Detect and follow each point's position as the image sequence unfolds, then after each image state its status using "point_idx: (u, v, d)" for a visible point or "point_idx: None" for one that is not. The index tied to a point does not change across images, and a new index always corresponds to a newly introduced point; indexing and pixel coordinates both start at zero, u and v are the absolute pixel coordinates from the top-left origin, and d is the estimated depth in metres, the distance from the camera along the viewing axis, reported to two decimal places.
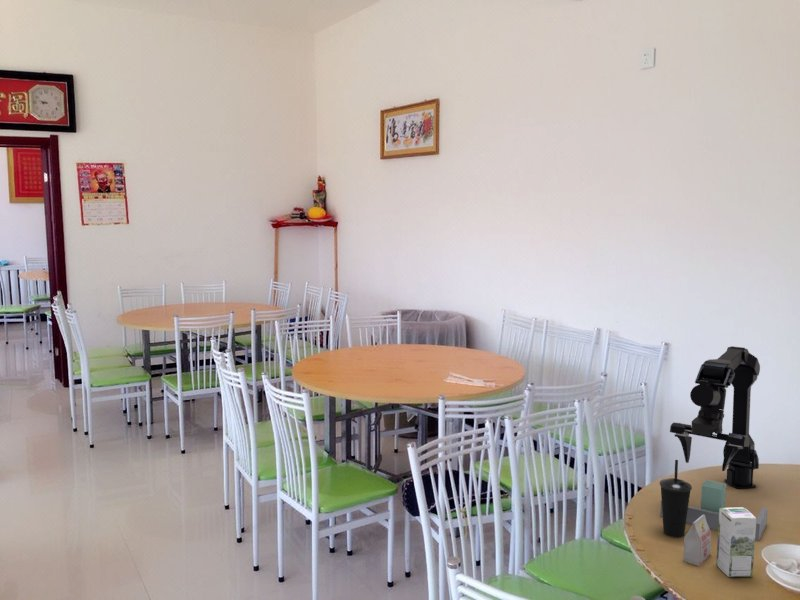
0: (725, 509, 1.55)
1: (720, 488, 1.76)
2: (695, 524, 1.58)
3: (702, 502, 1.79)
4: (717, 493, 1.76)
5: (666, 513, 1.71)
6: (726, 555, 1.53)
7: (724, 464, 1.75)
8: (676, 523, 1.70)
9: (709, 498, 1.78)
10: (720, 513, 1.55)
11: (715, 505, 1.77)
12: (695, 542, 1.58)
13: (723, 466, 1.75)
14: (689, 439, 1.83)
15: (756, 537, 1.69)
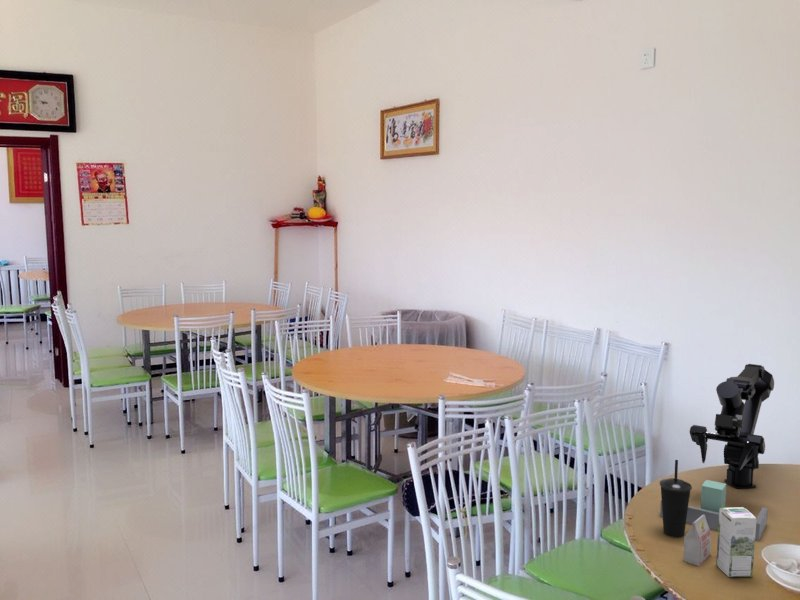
0: (725, 509, 1.55)
1: (720, 488, 1.76)
2: (695, 524, 1.58)
3: (702, 502, 1.79)
4: (717, 493, 1.76)
5: (666, 513, 1.71)
6: (726, 555, 1.53)
7: (741, 462, 1.82)
8: (676, 523, 1.70)
9: (709, 498, 1.78)
10: (720, 513, 1.55)
11: (715, 505, 1.77)
12: (695, 542, 1.58)
13: (740, 464, 1.82)
14: (706, 444, 1.91)
15: (756, 537, 1.69)
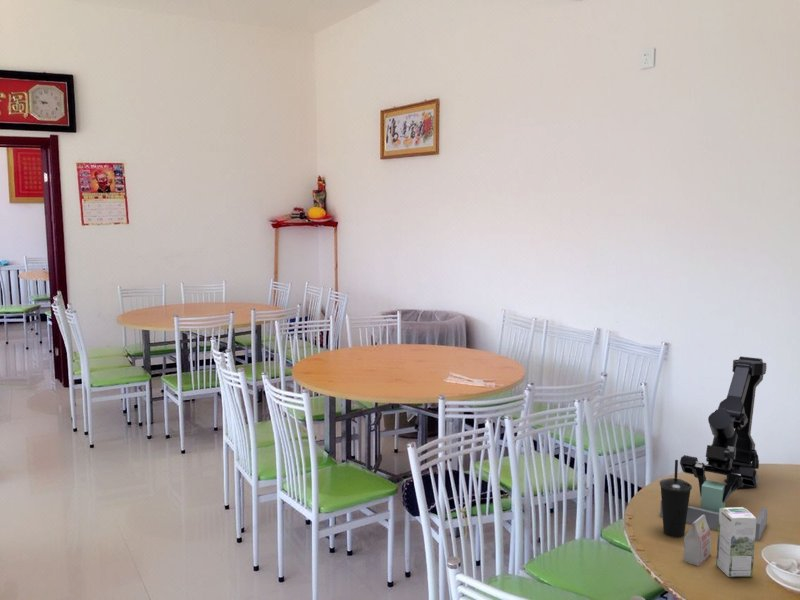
0: (725, 509, 1.55)
1: (720, 488, 1.76)
2: (695, 524, 1.58)
3: (702, 502, 1.79)
4: (717, 493, 1.76)
5: (666, 513, 1.71)
6: (726, 555, 1.53)
7: (725, 494, 1.77)
8: (676, 523, 1.70)
9: (709, 498, 1.78)
10: (720, 513, 1.55)
11: (715, 505, 1.77)
12: (695, 542, 1.58)
13: (724, 496, 1.77)
14: (704, 477, 1.84)
15: (756, 537, 1.69)
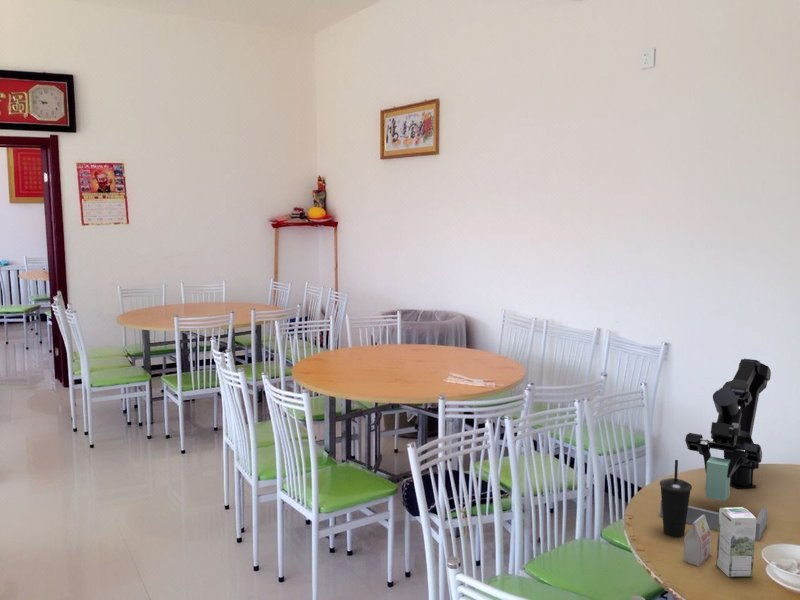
0: (725, 509, 1.55)
1: (724, 464, 1.79)
2: (695, 524, 1.58)
3: (707, 478, 1.82)
4: (722, 469, 1.79)
5: (666, 513, 1.71)
6: (726, 555, 1.53)
7: (730, 470, 1.80)
8: (676, 523, 1.70)
9: (714, 474, 1.81)
10: (720, 513, 1.55)
11: (720, 481, 1.80)
12: (695, 542, 1.58)
13: (728, 472, 1.80)
14: (709, 454, 1.87)
15: (756, 537, 1.69)
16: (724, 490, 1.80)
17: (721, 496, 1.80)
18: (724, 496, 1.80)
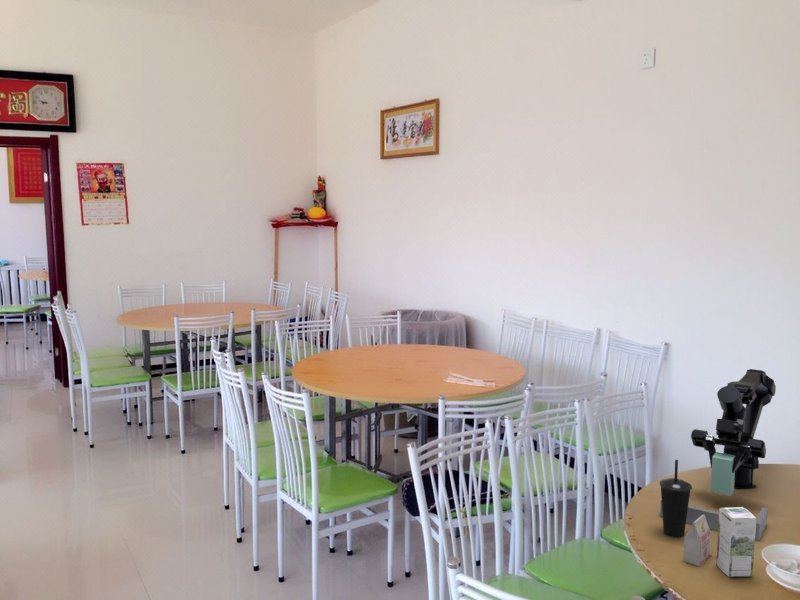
0: (725, 509, 1.55)
1: (729, 459, 1.84)
2: (695, 524, 1.58)
3: (712, 473, 1.87)
4: (727, 464, 1.84)
5: (666, 513, 1.71)
6: (726, 555, 1.53)
7: (734, 465, 1.85)
8: (676, 523, 1.70)
9: (719, 469, 1.86)
10: (720, 513, 1.55)
11: (725, 475, 1.85)
12: (695, 542, 1.58)
13: (733, 467, 1.85)
14: (714, 449, 1.92)
15: (756, 537, 1.69)
16: (729, 484, 1.85)
17: (726, 490, 1.85)
18: (729, 490, 1.85)
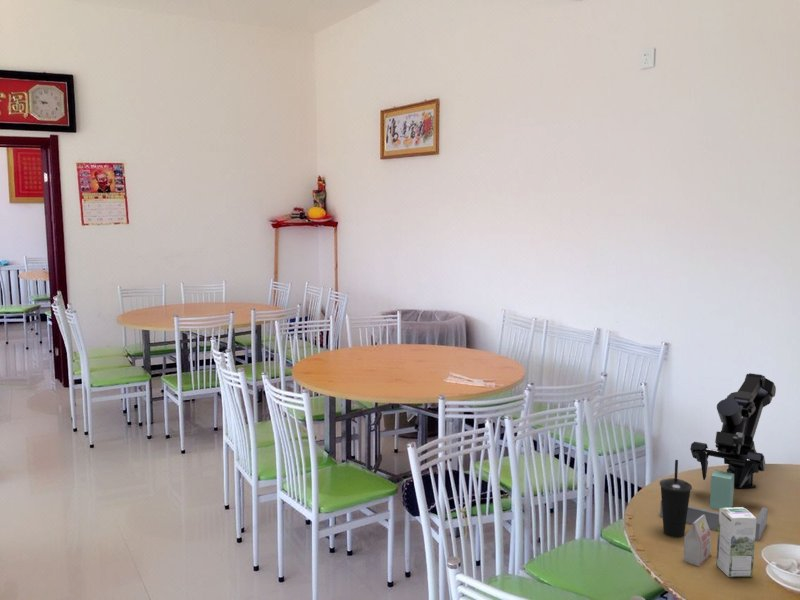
0: (725, 509, 1.55)
1: (728, 478, 1.85)
2: (695, 524, 1.58)
3: (711, 491, 1.87)
4: (726, 482, 1.85)
5: (666, 513, 1.71)
6: (726, 555, 1.53)
7: (741, 479, 1.84)
8: (676, 523, 1.70)
9: (718, 487, 1.86)
10: (720, 513, 1.55)
11: (724, 494, 1.86)
12: (695, 542, 1.58)
13: (740, 481, 1.84)
14: (707, 461, 1.93)
15: (756, 537, 1.69)
16: (728, 503, 1.85)
17: None
18: None
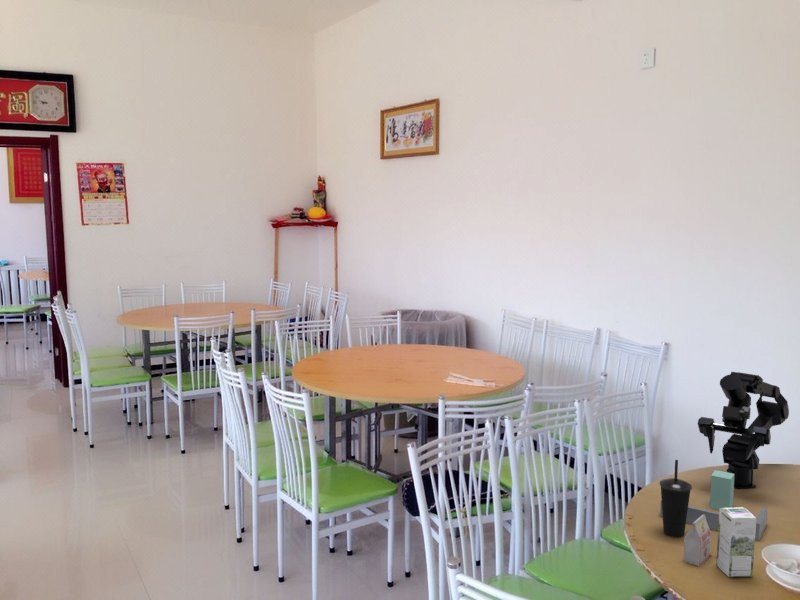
0: (725, 509, 1.55)
1: (728, 478, 1.85)
2: (695, 524, 1.58)
3: (711, 491, 1.87)
4: (726, 482, 1.85)
5: (666, 513, 1.71)
6: (726, 555, 1.53)
7: (748, 452, 1.89)
8: (676, 523, 1.70)
9: (718, 487, 1.86)
10: (720, 513, 1.55)
11: (724, 494, 1.86)
12: (695, 542, 1.58)
13: (746, 454, 1.89)
14: (713, 435, 1.99)
15: (756, 537, 1.69)
16: (728, 503, 1.85)
17: None
18: None
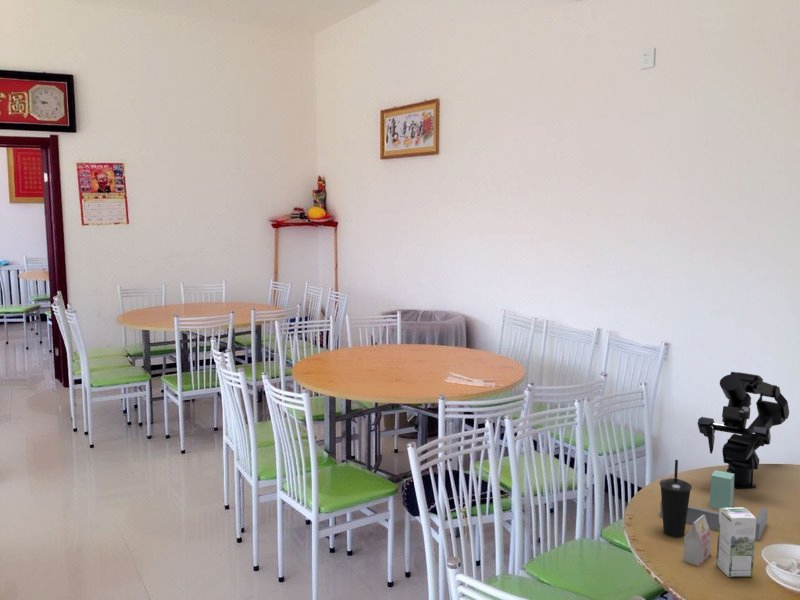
0: (725, 509, 1.55)
1: (728, 478, 1.85)
2: (695, 524, 1.58)
3: (711, 491, 1.87)
4: (726, 482, 1.85)
5: (666, 513, 1.71)
6: (726, 555, 1.53)
7: (747, 452, 1.89)
8: (676, 523, 1.70)
9: (718, 487, 1.86)
10: (720, 513, 1.55)
11: (724, 494, 1.86)
12: (695, 542, 1.58)
13: (746, 454, 1.89)
14: (713, 435, 1.99)
15: (756, 537, 1.69)
16: (728, 503, 1.85)
17: None
18: None
